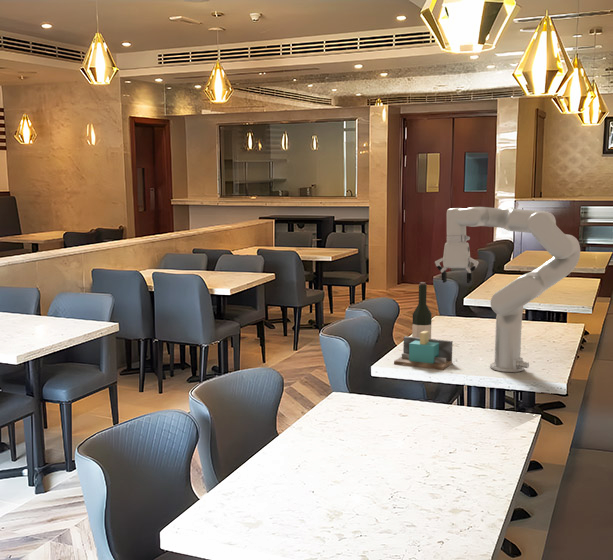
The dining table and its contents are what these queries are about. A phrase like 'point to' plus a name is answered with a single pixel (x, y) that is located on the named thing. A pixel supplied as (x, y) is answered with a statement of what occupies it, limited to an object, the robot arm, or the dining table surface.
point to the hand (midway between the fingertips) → (456, 282)
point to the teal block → (423, 349)
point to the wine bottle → (421, 314)
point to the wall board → (421, 364)
